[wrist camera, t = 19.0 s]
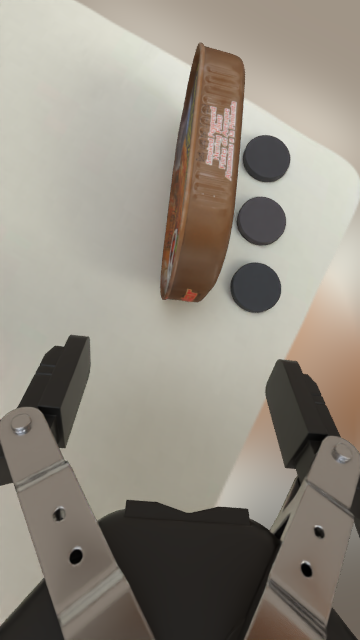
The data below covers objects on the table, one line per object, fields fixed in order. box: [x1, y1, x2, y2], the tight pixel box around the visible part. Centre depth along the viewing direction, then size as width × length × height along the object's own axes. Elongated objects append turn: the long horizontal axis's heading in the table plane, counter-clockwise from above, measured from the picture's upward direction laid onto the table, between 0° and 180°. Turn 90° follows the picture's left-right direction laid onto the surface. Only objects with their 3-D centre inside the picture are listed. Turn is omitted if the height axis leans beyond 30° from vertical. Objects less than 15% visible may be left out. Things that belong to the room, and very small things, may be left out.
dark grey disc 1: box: [243, 135, 290, 182], centre depth 24 cm, size 4×4×1 cm
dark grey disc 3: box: [231, 263, 281, 313], centre depth 23 cm, size 4×4×1 cm
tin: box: [160, 43, 245, 302], centre depth 19 cm, size 15×3×8 cm, turn 174°
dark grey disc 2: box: [237, 197, 286, 245], centre depth 23 cm, size 4×4×1 cm
